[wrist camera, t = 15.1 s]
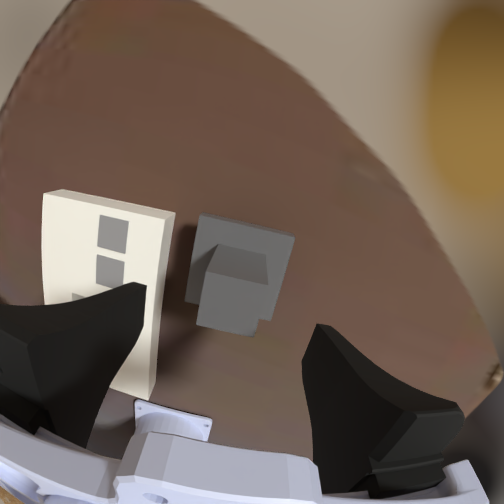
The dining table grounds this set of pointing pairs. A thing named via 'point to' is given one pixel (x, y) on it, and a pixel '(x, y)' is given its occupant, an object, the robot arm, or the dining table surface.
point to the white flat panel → (108, 265)
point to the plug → (236, 273)
